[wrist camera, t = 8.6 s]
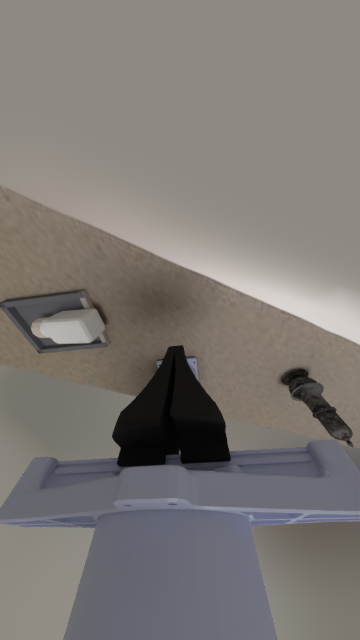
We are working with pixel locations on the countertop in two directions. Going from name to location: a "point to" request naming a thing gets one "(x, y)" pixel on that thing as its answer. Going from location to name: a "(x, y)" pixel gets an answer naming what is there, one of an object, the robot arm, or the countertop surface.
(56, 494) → the robot arm
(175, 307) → the countertop surface
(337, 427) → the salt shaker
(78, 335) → the pepper shaker
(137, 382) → the countertop surface
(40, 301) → the tray
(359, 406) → the countertop surface
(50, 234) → the countertop surface
